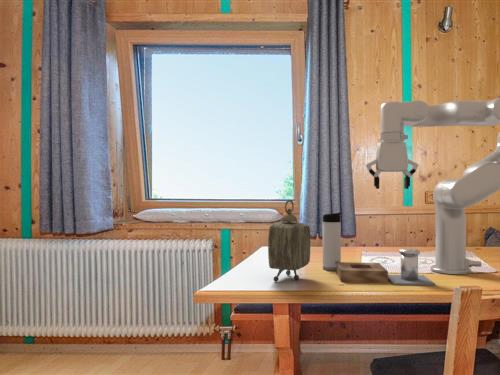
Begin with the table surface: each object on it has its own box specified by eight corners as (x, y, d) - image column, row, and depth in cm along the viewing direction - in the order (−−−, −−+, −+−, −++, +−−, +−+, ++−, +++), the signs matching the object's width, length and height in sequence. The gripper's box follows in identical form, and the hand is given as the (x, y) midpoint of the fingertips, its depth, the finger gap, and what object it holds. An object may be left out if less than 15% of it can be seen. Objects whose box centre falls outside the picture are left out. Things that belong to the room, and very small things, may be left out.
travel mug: (341, 271, 150) (341, 212, 150) (322, 270, 152) (322, 212, 151) (341, 267, 156) (341, 211, 156) (322, 267, 158) (322, 211, 158)
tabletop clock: (285, 273, 146) (285, 198, 146) (311, 276, 142) (311, 199, 142) (268, 282, 133) (268, 200, 133) (296, 285, 129) (296, 200, 129)
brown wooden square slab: (379, 273, 146) (379, 262, 146) (387, 282, 133) (387, 271, 133) (336, 272, 148) (336, 262, 148) (340, 281, 134) (340, 270, 134)
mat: (423, 277, 140) (423, 275, 140) (435, 285, 128) (435, 283, 128) (385, 276, 141) (385, 274, 141) (393, 285, 129) (393, 282, 129)
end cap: (416, 277, 137) (416, 248, 137) (422, 281, 132) (422, 251, 131) (397, 276, 138) (397, 248, 138) (401, 280, 132) (401, 251, 132)
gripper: (415, 139, 152) (414, 188, 153) (364, 140, 154) (364, 188, 154) (421, 137, 145) (421, 188, 145) (367, 137, 147) (367, 188, 147)
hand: (391, 188), depth 150 cm, fingers open, 9 cm apart
